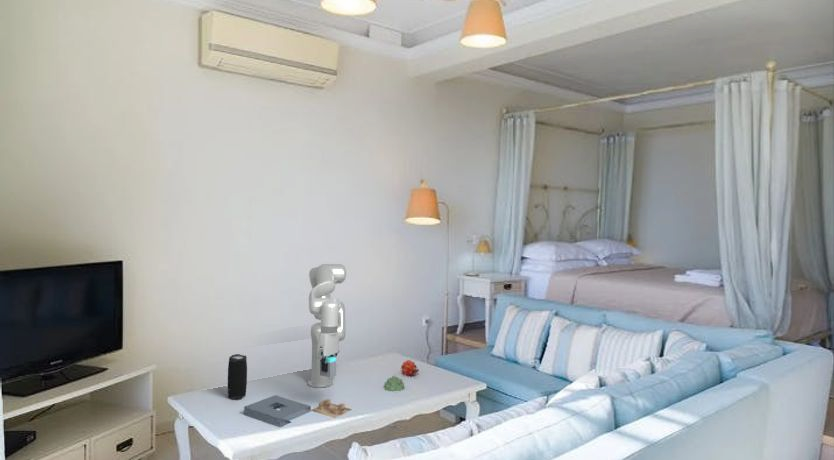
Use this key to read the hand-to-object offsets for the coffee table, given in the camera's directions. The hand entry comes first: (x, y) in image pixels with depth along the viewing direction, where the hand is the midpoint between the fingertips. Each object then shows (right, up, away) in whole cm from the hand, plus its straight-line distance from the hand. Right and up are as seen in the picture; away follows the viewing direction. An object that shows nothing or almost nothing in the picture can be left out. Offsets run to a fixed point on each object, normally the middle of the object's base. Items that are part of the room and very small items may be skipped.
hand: (328, 369), depth 242 cm
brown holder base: (+1, -19, +1) cm, 19 cm away
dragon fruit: (+35, -18, +58) cm, 70 cm away
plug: (0, -2, 0) cm, 2 cm away
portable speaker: (-45, -17, +15) cm, 51 cm away
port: (-22, -19, -3) cm, 29 cm away
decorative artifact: (+28, -19, +36) cm, 49 cm away
